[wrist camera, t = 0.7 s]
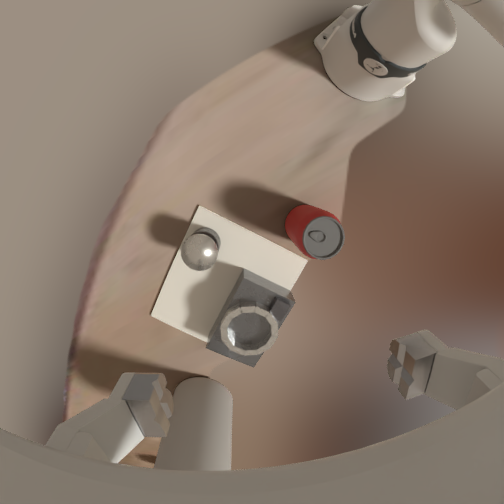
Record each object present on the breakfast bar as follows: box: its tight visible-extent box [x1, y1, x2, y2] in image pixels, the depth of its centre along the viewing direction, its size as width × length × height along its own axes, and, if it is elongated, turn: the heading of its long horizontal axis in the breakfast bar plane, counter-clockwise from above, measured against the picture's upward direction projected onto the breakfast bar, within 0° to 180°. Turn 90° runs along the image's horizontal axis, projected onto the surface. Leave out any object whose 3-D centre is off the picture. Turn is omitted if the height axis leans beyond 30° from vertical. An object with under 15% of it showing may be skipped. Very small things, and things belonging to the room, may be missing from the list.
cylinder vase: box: [154, 377, 233, 471], centre depth 42 cm, size 12×12×25 cm
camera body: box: [206, 268, 295, 367], centre depth 46 cm, size 14×9×7 cm, turn 152°
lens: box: [181, 227, 221, 271], centre depth 42 cm, size 5×5×7 cm
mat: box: [151, 205, 308, 342], centre depth 48 cm, size 22×20×1 cm
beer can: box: [285, 205, 345, 260], centre depth 40 cm, size 7×7×12 cm
